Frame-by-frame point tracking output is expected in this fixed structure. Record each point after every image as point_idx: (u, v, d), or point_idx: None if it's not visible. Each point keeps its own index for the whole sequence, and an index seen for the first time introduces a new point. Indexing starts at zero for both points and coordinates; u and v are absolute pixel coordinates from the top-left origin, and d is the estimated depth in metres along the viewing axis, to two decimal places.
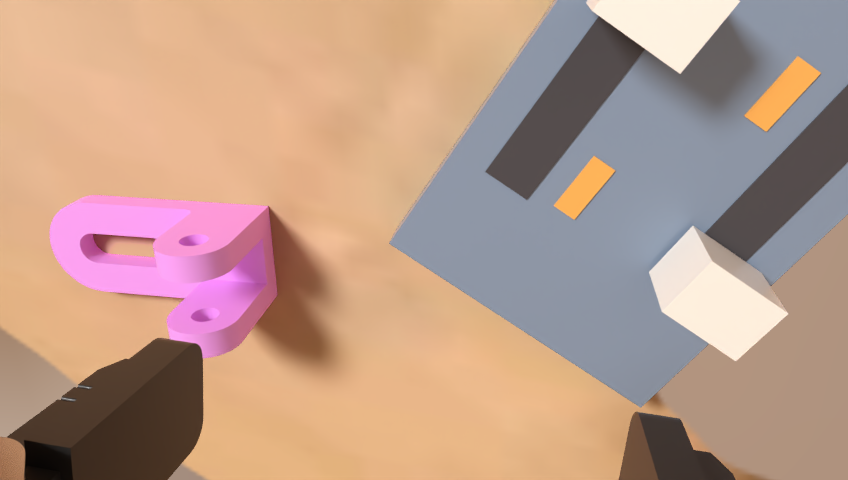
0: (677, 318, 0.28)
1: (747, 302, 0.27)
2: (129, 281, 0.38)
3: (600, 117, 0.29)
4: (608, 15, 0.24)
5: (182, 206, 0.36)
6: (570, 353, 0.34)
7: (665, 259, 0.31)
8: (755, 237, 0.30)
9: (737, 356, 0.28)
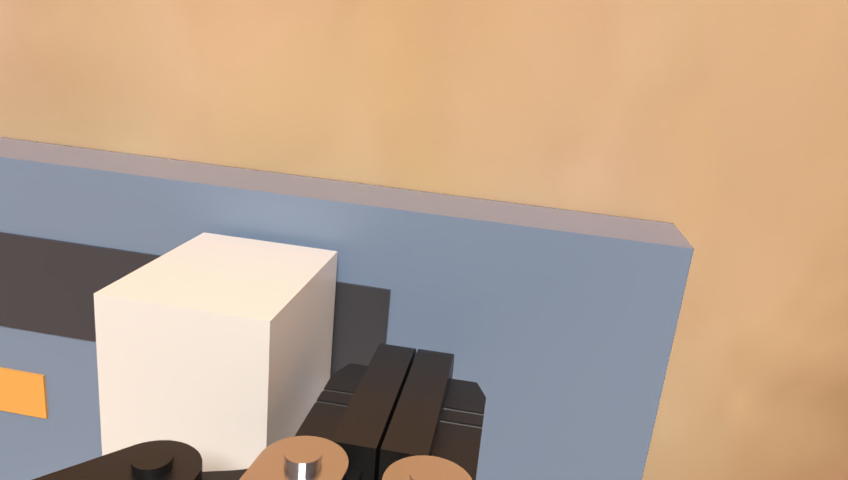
0: None
1: None
2: None
3: None
4: (105, 327, 0.11)
5: None
6: None
7: None
8: None
9: None
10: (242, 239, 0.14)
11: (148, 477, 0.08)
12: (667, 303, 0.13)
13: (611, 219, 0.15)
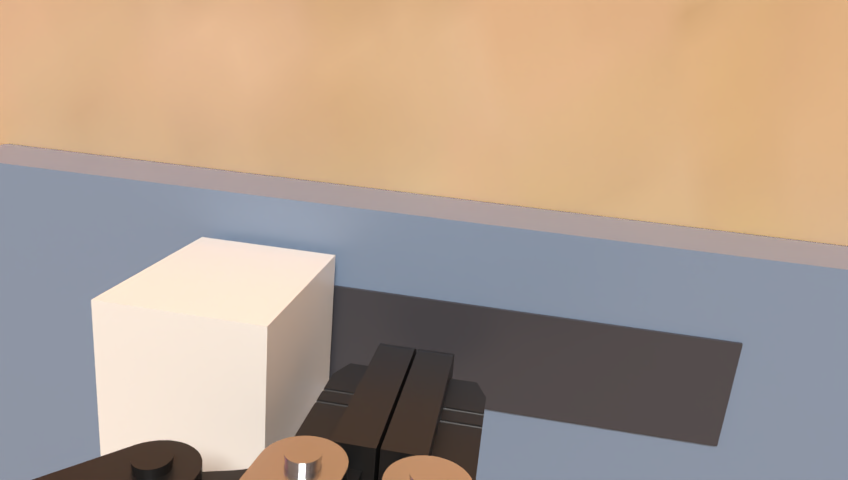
0: None
1: None
2: None
3: None
4: (102, 333, 0.11)
5: None
6: None
7: None
8: None
9: None
10: (240, 243, 0.14)
11: (148, 477, 0.08)
12: None
13: None
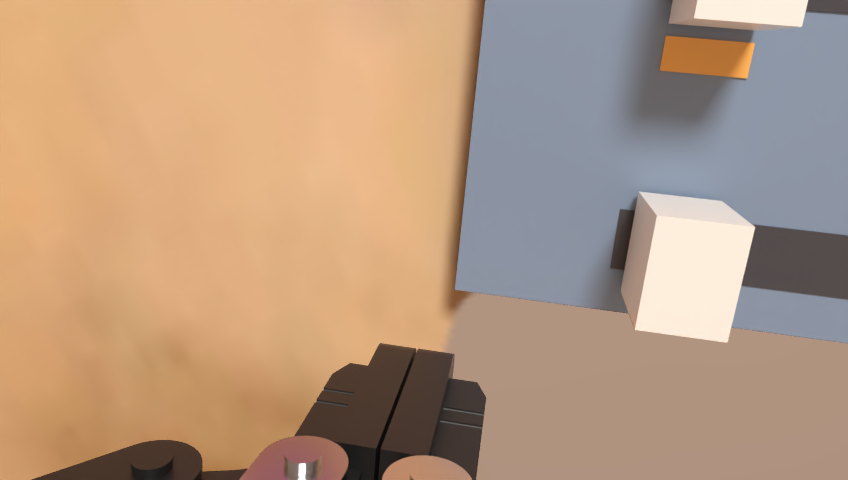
0: (657, 237, 0.21)
1: (719, 295, 0.21)
2: None
3: (807, 20, 0.23)
4: None
5: None
6: (477, 173, 0.26)
7: (670, 197, 0.24)
8: None
9: (642, 327, 0.22)
10: None
11: (148, 477, 0.08)
12: None
13: None
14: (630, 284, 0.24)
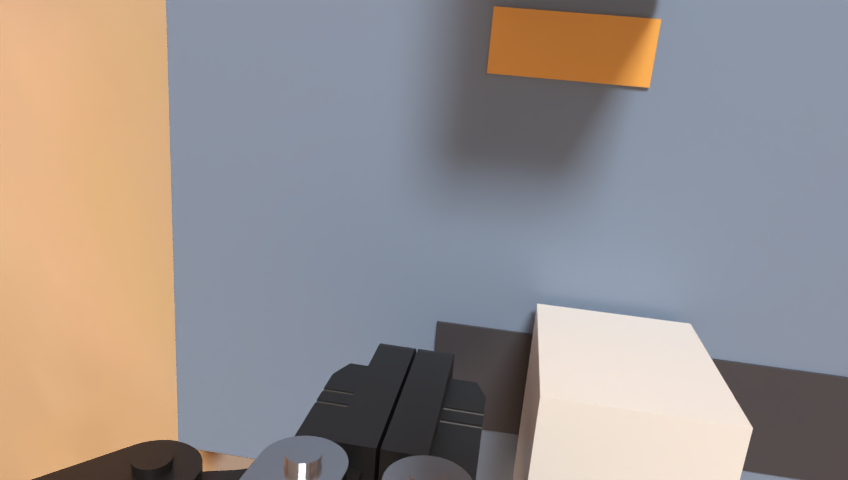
0: (543, 440, 0.10)
1: None
2: None
3: None
4: None
5: None
6: (190, 256, 0.15)
7: (592, 319, 0.13)
8: None
9: None
10: None
11: (148, 477, 0.08)
12: None
13: None
14: None
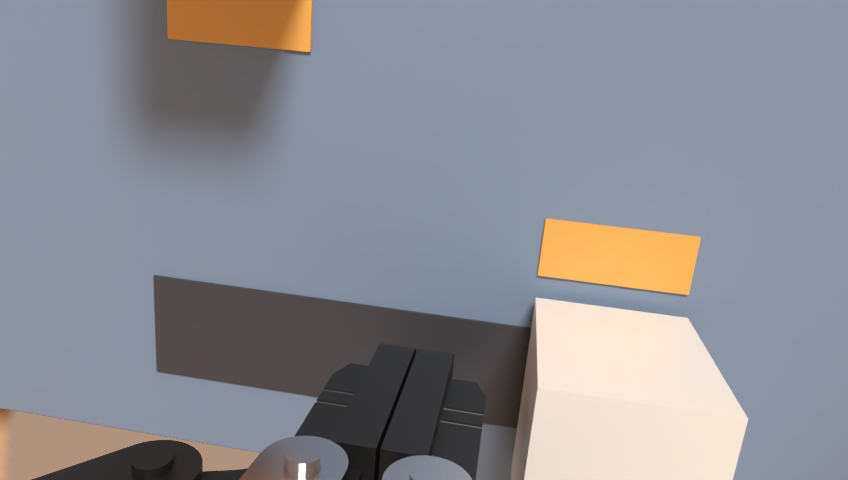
0: (540, 430, 0.10)
1: None
2: None
3: None
4: None
5: None
6: None
7: (590, 313, 0.13)
8: None
9: None
10: None
11: (148, 477, 0.08)
12: None
13: None
14: (514, 479, 0.13)
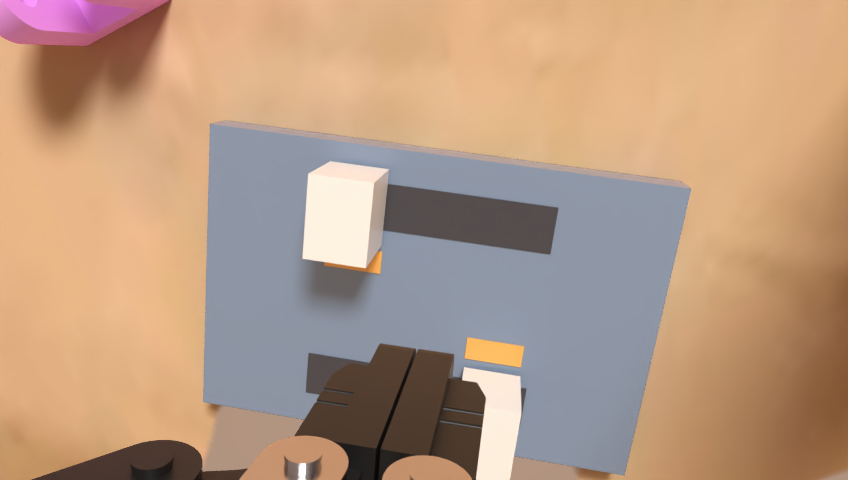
0: None
1: (501, 455, 0.32)
2: None
3: (413, 240, 0.34)
4: (311, 186, 0.29)
5: None
6: (212, 324, 0.37)
7: (483, 374, 0.34)
8: None
9: None
10: None
11: (148, 477, 0.08)
12: (679, 212, 0.32)
13: (653, 178, 0.33)
14: None
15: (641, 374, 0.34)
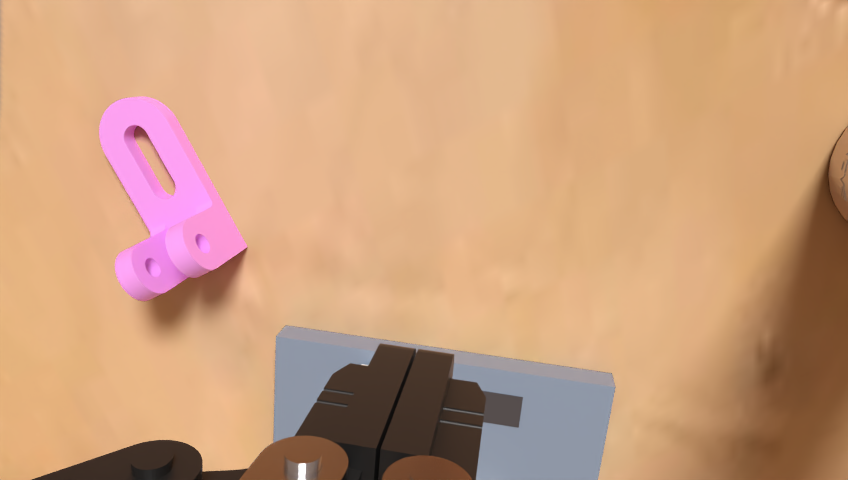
0: None
1: None
2: (127, 172, 0.47)
3: None
4: None
5: (210, 193, 0.46)
6: None
7: None
8: None
9: None
10: None
11: (148, 477, 0.08)
12: (608, 402, 0.45)
13: (591, 372, 0.46)
14: None
15: None
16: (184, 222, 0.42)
